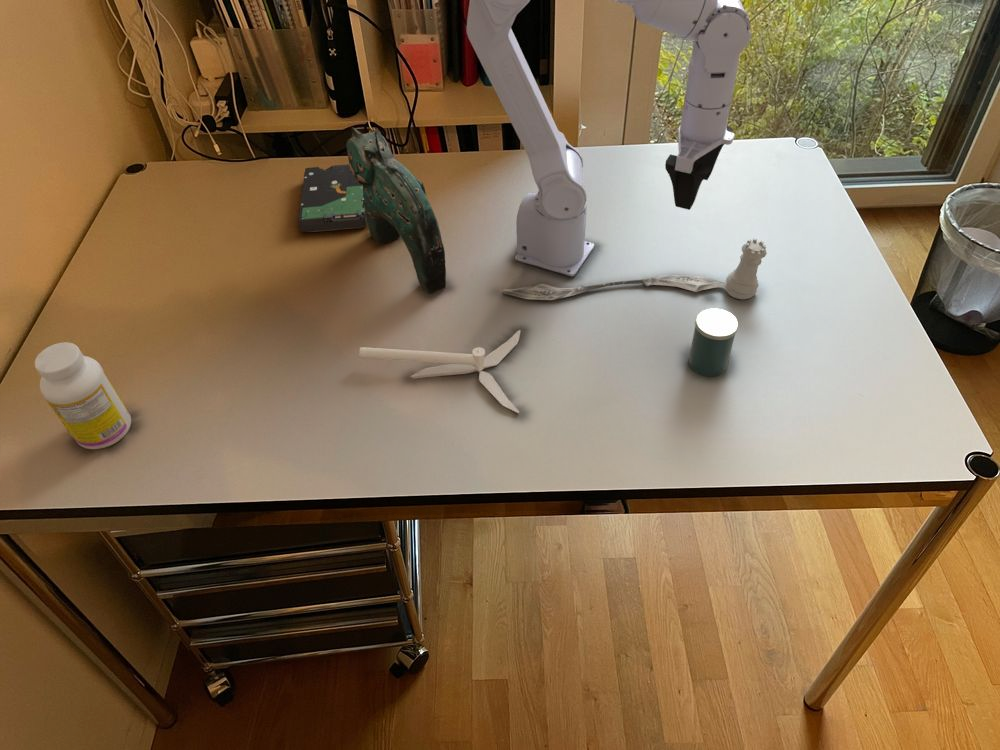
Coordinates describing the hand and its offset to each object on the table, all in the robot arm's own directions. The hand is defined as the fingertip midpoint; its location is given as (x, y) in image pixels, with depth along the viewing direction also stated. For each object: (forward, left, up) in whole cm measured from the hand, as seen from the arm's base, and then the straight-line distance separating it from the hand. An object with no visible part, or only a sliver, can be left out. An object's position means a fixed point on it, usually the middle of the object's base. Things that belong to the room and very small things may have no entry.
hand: (692, 191), depth 106 cm
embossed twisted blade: (-6, -12, -10) cm, 17 cm away
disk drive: (-54, -11, -11) cm, 56 cm away
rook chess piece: (+10, -5, -10) cm, 15 cm away
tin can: (+10, -20, -10) cm, 25 cm away
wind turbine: (-20, -35, -11) cm, 42 cm away
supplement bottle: (-52, -62, -11) cm, 82 cm away
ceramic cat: (-36, -18, -11) cm, 42 cm away
